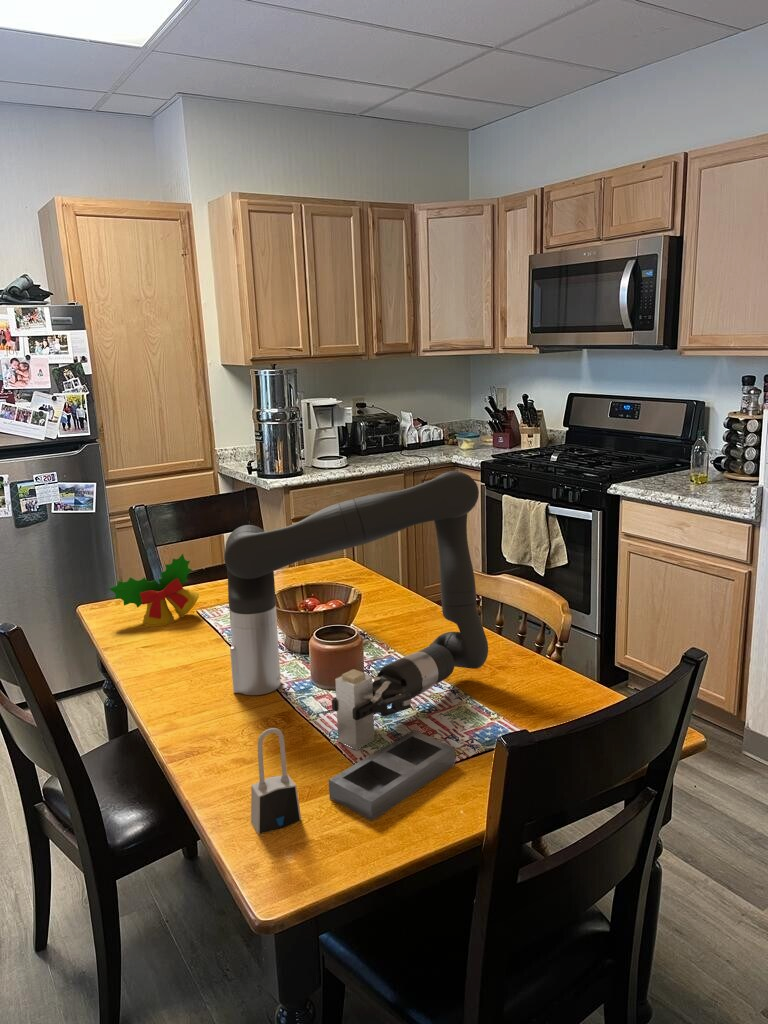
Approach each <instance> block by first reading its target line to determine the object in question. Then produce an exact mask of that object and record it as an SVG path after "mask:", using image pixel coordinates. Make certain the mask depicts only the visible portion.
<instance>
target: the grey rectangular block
mask: <svg viewBox="0 0 768 1024" xmlns="http://www.w3.org/2000/svg"><path fill="white" fill-rule="evenodd" d="M372 677H373V676H370V675H367V674H366V673H365V672H362V671H361V670H357V669H355V668H353V669H350V670H348V671H346V672H344V673H342V674H341V675H340V676H338V677H336V678H335V679H334V680H335V697H336V700H337V711H336V719H337V720H336V721H337V723H336V724H337V741H339V742H341V743H343V744H346V745H348V746H350V747H352V748H354V749H359V748H360V747H362V746H364V745H366V746H367V745H369V744H371V743H373V742H374V741H375V719H374V716H375V714H370V715H368V716H366V717H364V718H362V719H359V720H354V719H353V708H354V707H356V706H358V705H360V704H362V703H364V702H366V701H370V700H371V699H372V698H373V685H372ZM372 741H373V742H372ZM339 742H338V743H339ZM370 742H371V743H370ZM341 743H340V744H341ZM368 743H369V744H368ZM343 744H342V745H343ZM346 745H345V746H346ZM348 746H347V747H348ZM350 747H349V748H350ZM364 747H365V746H364ZM352 748H351V749H352ZM362 748H363V747H362ZM354 749H353V750H354ZM360 749H361V748H360ZM360 749H359V750H360Z"/></svg>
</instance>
